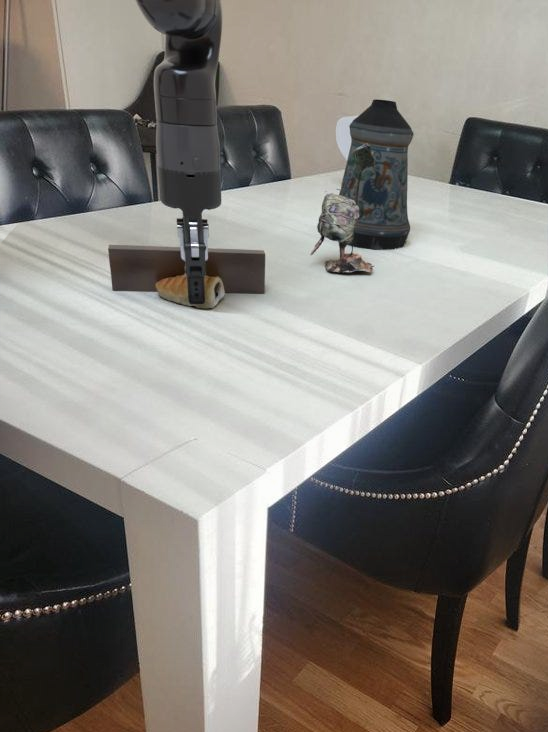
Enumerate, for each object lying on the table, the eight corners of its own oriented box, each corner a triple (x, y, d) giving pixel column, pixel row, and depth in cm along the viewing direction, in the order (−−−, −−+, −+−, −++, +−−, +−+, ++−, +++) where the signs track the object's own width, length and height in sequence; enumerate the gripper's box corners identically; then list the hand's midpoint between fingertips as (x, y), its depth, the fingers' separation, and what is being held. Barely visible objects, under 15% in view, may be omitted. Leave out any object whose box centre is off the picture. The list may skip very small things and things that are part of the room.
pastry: (148, 301, 91) (146, 274, 89) (166, 288, 97) (165, 262, 95) (213, 311, 91) (213, 284, 89) (227, 297, 96) (227, 271, 94)
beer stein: (336, 248, 126) (348, 100, 112) (321, 223, 142) (329, 91, 128) (417, 252, 130) (438, 109, 116) (393, 228, 145) (409, 100, 132)
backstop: (112, 290, 94) (107, 248, 90) (113, 286, 95) (108, 244, 92) (264, 293, 99) (265, 253, 96) (262, 289, 101) (263, 250, 98)
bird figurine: (315, 258, 118) (323, 136, 107) (376, 267, 118) (390, 145, 107) (306, 270, 112) (313, 141, 101) (371, 279, 111) (385, 150, 100)
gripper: (157, 154, 84) (168, 287, 93) (157, 171, 73) (168, 319, 83) (216, 157, 86) (221, 288, 95) (224, 174, 75) (228, 319, 85)
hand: (196, 302), depth 89 cm, fingers closed
